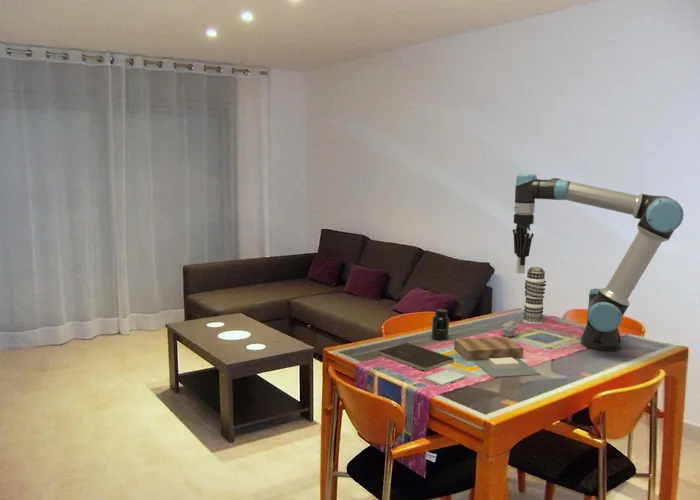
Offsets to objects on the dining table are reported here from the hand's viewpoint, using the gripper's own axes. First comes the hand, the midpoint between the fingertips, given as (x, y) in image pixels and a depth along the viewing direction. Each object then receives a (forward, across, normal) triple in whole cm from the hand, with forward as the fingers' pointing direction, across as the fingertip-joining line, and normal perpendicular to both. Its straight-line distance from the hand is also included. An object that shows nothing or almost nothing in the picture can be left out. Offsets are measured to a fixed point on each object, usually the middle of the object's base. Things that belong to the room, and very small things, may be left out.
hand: (520, 272), depth 241 cm
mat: (+29, +25, -16) cm, 42 cm away
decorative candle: (+30, -30, +23) cm, 48 cm away
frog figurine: (+30, -10, +2) cm, 31 cm away
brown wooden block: (+29, +9, -16) cm, 35 cm away
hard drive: (+30, +32, -42) cm, 60 cm away
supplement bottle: (+30, -12, -28) cm, 42 cm away
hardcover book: (+30, +10, -45) cm, 55 cm away
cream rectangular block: (+27, +24, -16) cm, 40 cm away
